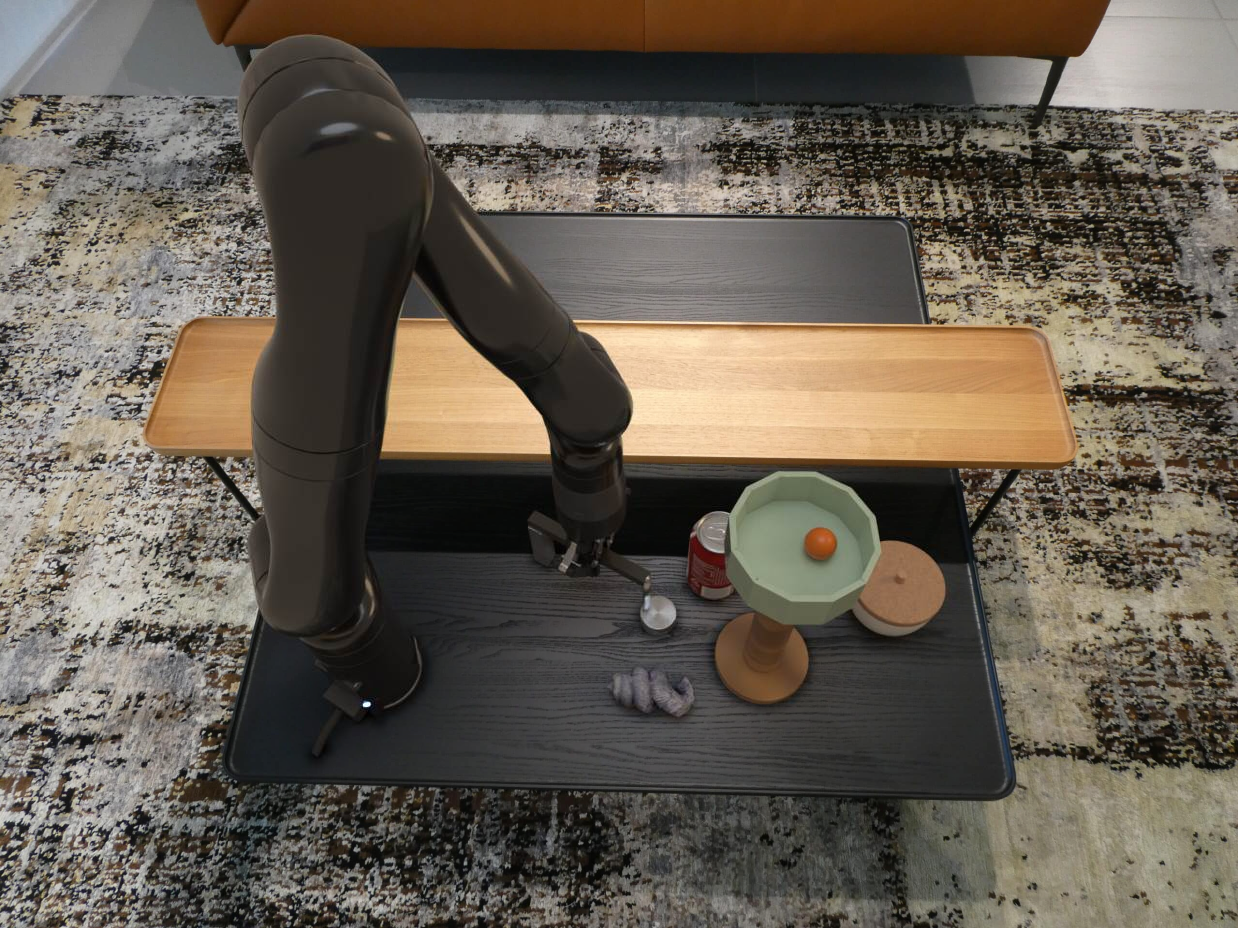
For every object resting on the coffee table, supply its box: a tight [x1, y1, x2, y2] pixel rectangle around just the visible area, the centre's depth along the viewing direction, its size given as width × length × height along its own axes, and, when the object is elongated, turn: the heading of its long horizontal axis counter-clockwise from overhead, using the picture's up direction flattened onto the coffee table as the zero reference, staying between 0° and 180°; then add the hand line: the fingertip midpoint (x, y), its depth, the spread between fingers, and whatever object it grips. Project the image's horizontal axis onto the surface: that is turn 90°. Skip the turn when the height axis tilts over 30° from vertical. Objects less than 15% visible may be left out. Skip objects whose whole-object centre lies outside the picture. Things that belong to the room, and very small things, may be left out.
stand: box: [714, 610, 810, 705], centre depth 90 cm, size 11×11×26 cm
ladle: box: [527, 510, 677, 637], centre depth 102 cm, size 20×4×10 cm, turn 59°
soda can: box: [685, 510, 737, 601], centre depth 102 cm, size 7×7×12 cm
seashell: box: [607, 664, 695, 718], centre depth 96 cm, size 5×5×10 cm
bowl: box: [724, 470, 882, 626], centre depth 77 cm, size 13×13×5 cm
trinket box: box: [850, 540, 946, 637], centre depth 100 cm, size 11×11×9 cm
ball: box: [804, 527, 837, 560], centre depth 78 cm, size 3×3×3 cm
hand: (596, 564), depth 101 cm, fingers closed on ladle
